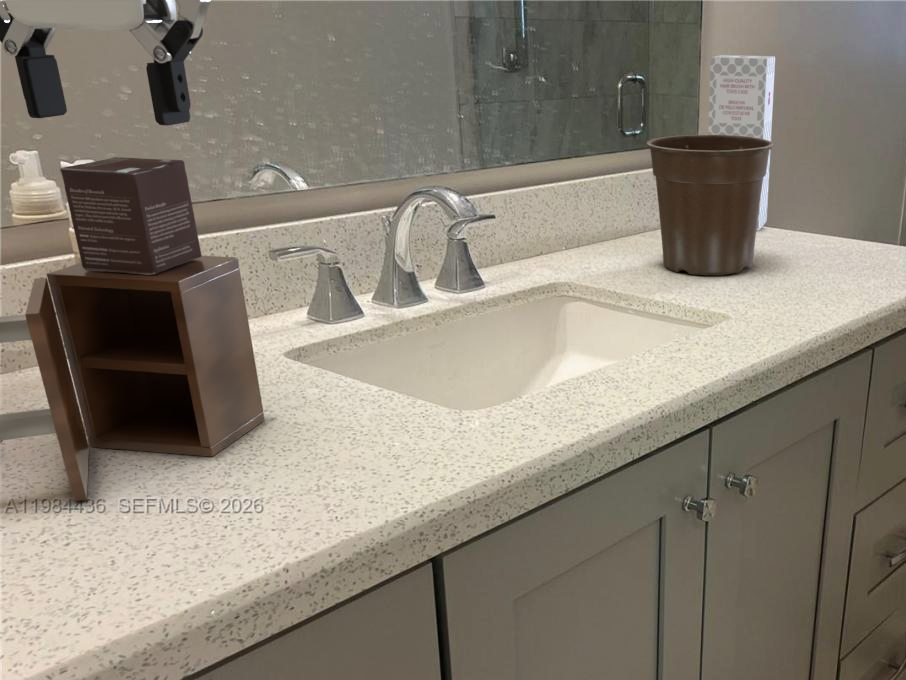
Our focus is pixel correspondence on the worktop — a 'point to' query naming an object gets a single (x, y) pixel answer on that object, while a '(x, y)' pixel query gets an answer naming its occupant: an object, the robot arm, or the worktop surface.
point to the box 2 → (743, 104)
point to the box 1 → (131, 214)
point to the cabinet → (160, 355)
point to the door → (49, 387)
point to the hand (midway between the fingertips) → (111, 119)
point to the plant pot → (709, 200)
